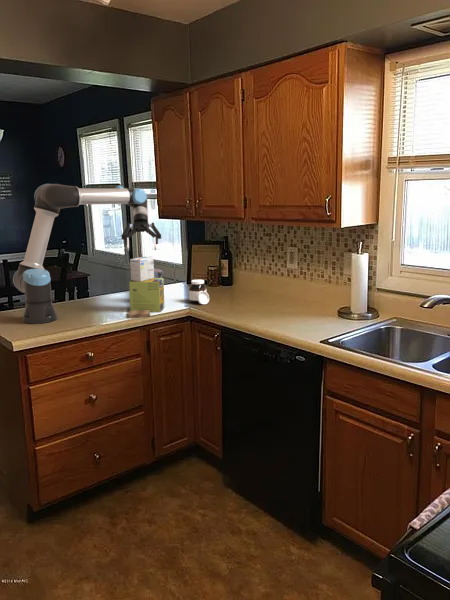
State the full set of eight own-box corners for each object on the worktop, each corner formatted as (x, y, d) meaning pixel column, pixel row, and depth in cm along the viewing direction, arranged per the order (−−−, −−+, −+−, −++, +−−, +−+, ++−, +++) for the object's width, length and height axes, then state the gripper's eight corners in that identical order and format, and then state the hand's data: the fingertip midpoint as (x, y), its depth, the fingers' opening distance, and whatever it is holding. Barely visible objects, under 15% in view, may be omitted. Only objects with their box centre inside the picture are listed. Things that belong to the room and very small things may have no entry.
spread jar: (196, 299, 288) (195, 278, 286) (214, 301, 283) (214, 280, 281) (185, 304, 278) (184, 282, 275) (204, 306, 273) (203, 283, 270)
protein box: (160, 312, 260) (159, 281, 256) (130, 312, 261) (128, 281, 258) (165, 307, 270) (164, 277, 267) (135, 307, 271) (134, 277, 268)
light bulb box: (144, 277, 269) (143, 256, 267) (154, 278, 266) (153, 257, 264) (130, 280, 260) (129, 258, 258) (141, 281, 257) (140, 259, 255)
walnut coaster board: (128, 317, 250) (128, 314, 250) (129, 313, 258) (128, 310, 257) (149, 316, 251) (149, 313, 251) (149, 312, 259) (149, 309, 259)
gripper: (164, 221, 283) (166, 252, 272) (117, 222, 279) (117, 254, 268) (164, 212, 277) (166, 243, 266) (116, 212, 273) (116, 244, 262)
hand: (141, 249), depth 267 cm, fingers open, 13 cm apart
